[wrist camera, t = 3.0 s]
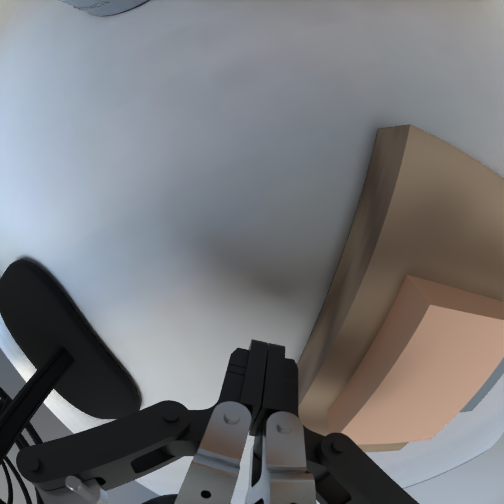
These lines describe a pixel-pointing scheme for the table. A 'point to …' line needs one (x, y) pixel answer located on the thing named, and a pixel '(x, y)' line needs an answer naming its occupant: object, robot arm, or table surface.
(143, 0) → the robot arm
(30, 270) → the desk fan
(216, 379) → the table surface
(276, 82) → the table surface
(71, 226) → the table surface
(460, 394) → the tile
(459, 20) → the table surface
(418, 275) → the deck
